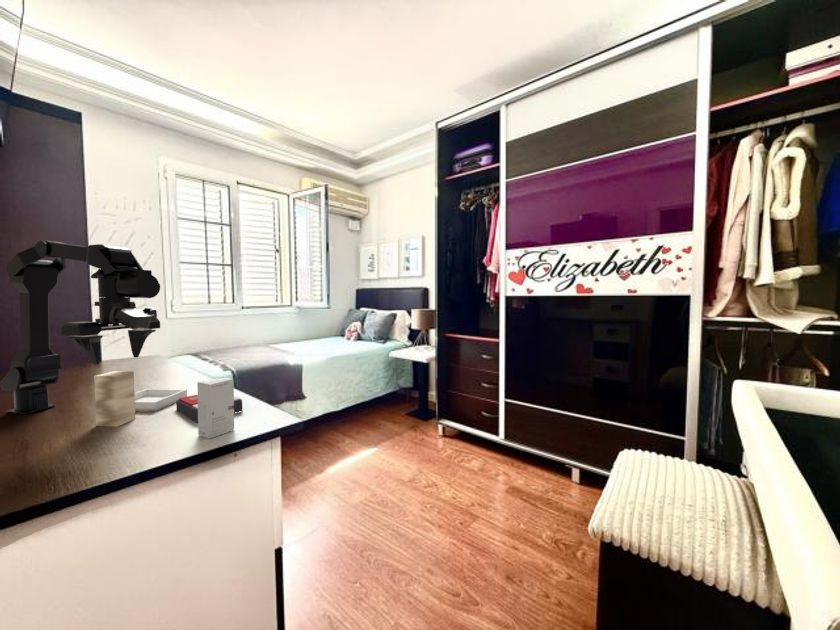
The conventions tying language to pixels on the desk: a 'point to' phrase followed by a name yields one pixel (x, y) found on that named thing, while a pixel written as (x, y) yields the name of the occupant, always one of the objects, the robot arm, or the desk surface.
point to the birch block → (114, 398)
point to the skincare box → (215, 407)
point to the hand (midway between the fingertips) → (117, 360)
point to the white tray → (157, 398)
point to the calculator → (190, 406)
